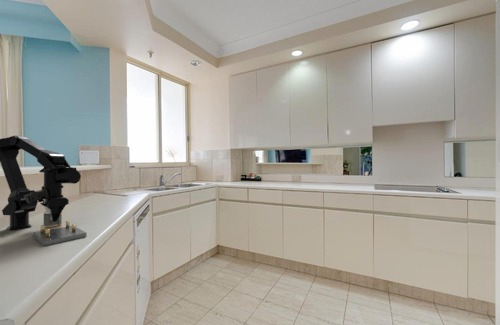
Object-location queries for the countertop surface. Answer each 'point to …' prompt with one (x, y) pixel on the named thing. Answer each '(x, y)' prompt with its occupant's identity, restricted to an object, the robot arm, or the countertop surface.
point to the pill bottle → (49, 222)
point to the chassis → (58, 234)
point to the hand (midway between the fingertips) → (52, 220)
